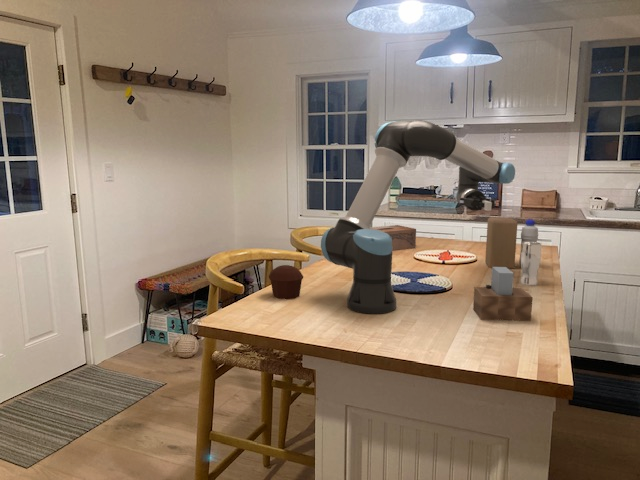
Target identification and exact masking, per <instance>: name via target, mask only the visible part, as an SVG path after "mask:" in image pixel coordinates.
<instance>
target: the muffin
mask: <svg viewBox="0 0 640 480" xmlns="http://www.w3.org/2000/svg"><path fill="white" fill-rule="evenodd" d="M268 279H269V281H270V284H271V290H272V296H273V298H274V299H278V300H286V301H287V300H294V299H297V298H299V297H300V295H301V288H302V282H303V280H304V275H303V274H302V272H301V270H300V269H299V268H297V267H296V266H293V265H289V264H284V265H283V264H282V265H279V266H277V267H275V268H273V269H272V270H271V271H270V273H269V274H268Z"/></svg>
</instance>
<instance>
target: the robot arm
mask: <svg viewBox="0 0 640 480" xmlns="http://www.w3.org/2000/svg"><path fill="white" fill-rule="evenodd" d="M374 142H375V143H374V147H375V149H374V154H375V156H376V157H375V159H374V161H373V163H372V165H371V166H370V169H369V170H368V172H367V174H366V176H365V178H364V180H363V183H362V184H361V186H360V188H359V190H358V192H357V194H356V195H355V198H354V200H353V201H352V203H351V205H350V206H349V207H350V208H349V209H348V210H347V213H346V215H345V216H344V217H342V218H339V219H338V220H337V222H336V224H335V226H334V227H331V228H329V229H327V230H325V232H324V233H323V234H322V237H321V240H320V249H321V253H322V256H323V257H324V259H325V260H326V261H328V262H330V263H331V264H332V263H333V265H335V266H342V267H345V268H349V269H352V271H353V275H352V276H353V278H352V279H353V280H352V284H351V287H350V290H349V293H348V295H347V299H346V301H347V302H346V307H347V308H348V309H350V310H351V311H354V312H357V313H361V314H369V315H370V314H373V315H374V314H376V315H377V314H386V313H390V312H393V311H395V310H396V309H397V298H396V295H395V292H394V287H393V286H392V269H393V265H392V264H393V252H394V251H393V247H392V238H391V237H390V235H388V234H387V233H385V232H382V231H379V230H372V229H369V228H370V227H371V224H372V223H373V221H374V219H375V216H376V214H377V213H378V211H379V209H380V207H381V205H382V203H383V201H384V199H385V197H386V195H387V193H388V191H389V189H390V187H391V186H392V184H393V181H394V179H395V177H396V175H397V173H398V172H399V170H400V168H404V167H406V166H407V163H408V161H409V160H410V158H411V157H429V158H435V159H436V160H439V161H443V160H445V161H447V162H450V163H452V164H454V165H456V166H458V187H457V191H456V194H455V201H456V202H457V203H458V205H460V206H461V207H464V208H466V209H468V210H469V211H471V212H472V211H473V212H476V211H482V210H484V211H487V212H489V211H490V212H491V211H492V209H495V206H496V205H497V198H495V197H493V198H487V197H486V196H485V194H484V193H483V192H482V191H480V190H479V185H480V183H487V184H500V185H502V184H507V185H508V184H510V183H512V182H513V181H514V179H515V177H516V167H515V165H514V164H513V163H511V162H506V161H505V162H501V161H499V160H496V159H495V158H493V157H491V156H490V155H487V154H485V153H483V152H481V151H480V150H477V149H476V148H474V147H472V146H471V145H469V144H467V143H465V142H464V141H461V140H459V139H457V137H456V135H455V134H454V133H453V132H451V131H450V130H449V129H446V128H444V127H441V126H440V125H437V124H435V123H433V122H430V121H427V120H422V119H421V120H420V119H417V120H405V121H404V120H402V121H400V120H394V121H390V122H386V123H384V124H382V125H380V127H379V128H378V130H377V131H376V133H375V136H374Z"/></svg>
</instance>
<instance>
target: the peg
mask: <svg viewBox="0 0 640 480" xmlns="http://www.w3.org/2000/svg"><path fill="white" fill-rule="evenodd" d="M490 279H491V281H490V283H491V284H490V285H491V289H492V290H493V291H494V292H495V293H496V294H497V295H512V289H513V288H514V286H513V285H514V272H513V271H512V270H511V269H508V268H506V267H492V268H491V278H490Z"/></svg>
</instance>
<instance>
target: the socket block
mask: <svg viewBox="0 0 640 480" xmlns="http://www.w3.org/2000/svg"><path fill="white" fill-rule="evenodd" d="M472 309H473V311H474V312H475V314H476V315H477V317H478V318H479V319H480V320H481V321H512V320H514V321H513V322H515V321H519V322H520V321H523V322H531V320H532V310H533V296H532V295H530V294H529V293H528V292H527V291H526V290H525V289H524V288H522V287H513V289H512V295H497V294H496V293H495V292H494V291H493V290H492V289H491V284H485V286H482V287H481V286H474V291H473V307H472Z"/></svg>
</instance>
